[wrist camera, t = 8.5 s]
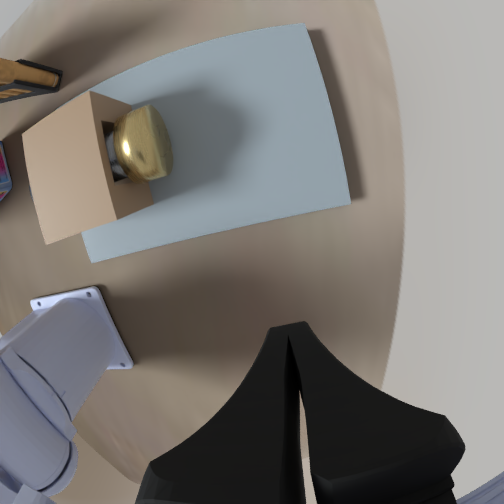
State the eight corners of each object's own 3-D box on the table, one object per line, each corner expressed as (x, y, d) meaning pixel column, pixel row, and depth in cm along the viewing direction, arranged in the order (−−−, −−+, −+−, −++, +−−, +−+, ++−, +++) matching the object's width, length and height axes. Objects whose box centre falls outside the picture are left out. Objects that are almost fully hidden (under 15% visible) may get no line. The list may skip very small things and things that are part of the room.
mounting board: (99, 257, 19) (51, 291, 13) (64, 110, 16) (9, 103, 10) (345, 201, 17) (382, 220, 12) (302, 30, 14) (316, -18, 8)
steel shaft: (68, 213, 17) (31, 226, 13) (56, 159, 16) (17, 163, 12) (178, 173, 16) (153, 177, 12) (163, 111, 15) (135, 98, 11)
